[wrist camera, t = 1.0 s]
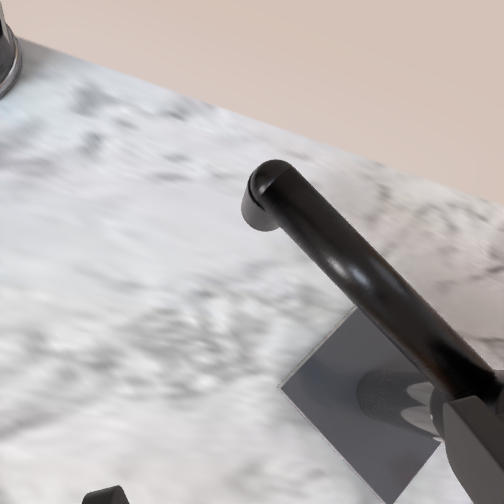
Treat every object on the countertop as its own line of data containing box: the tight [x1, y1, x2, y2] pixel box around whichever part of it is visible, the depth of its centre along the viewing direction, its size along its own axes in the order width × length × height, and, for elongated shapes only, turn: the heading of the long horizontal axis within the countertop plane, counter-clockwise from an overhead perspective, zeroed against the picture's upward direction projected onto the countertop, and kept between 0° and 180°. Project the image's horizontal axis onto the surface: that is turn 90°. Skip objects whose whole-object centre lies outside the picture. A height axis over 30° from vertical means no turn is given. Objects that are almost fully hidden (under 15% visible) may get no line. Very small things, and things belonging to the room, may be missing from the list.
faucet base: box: [277, 305, 445, 504], centre depth 27 cm, size 11×10×12 cm
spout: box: [241, 160, 504, 442], centre depth 20 cm, size 18×4×6 cm, turn 43°
